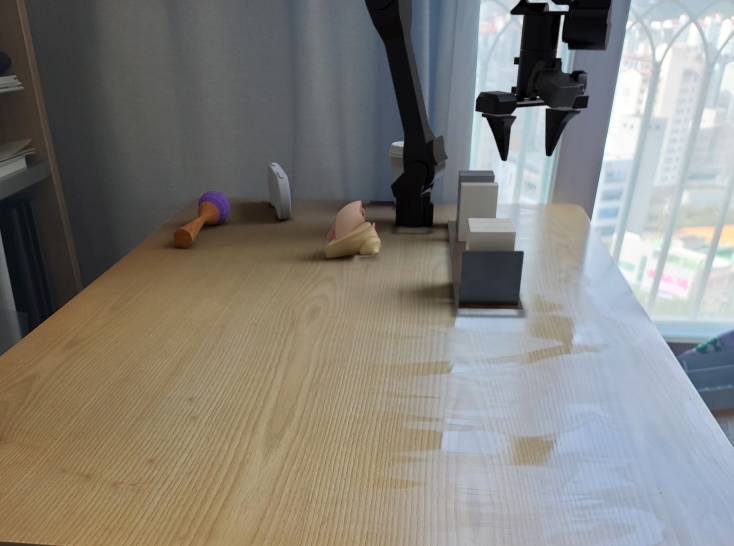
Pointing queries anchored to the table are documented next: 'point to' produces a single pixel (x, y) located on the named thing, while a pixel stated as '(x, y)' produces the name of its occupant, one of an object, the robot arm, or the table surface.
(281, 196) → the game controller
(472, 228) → the cream books
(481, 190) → the ivory book
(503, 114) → the robot arm
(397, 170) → the coffee cup
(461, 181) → the grey books
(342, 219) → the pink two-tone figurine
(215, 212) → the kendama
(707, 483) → the table surface
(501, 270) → the book rack
